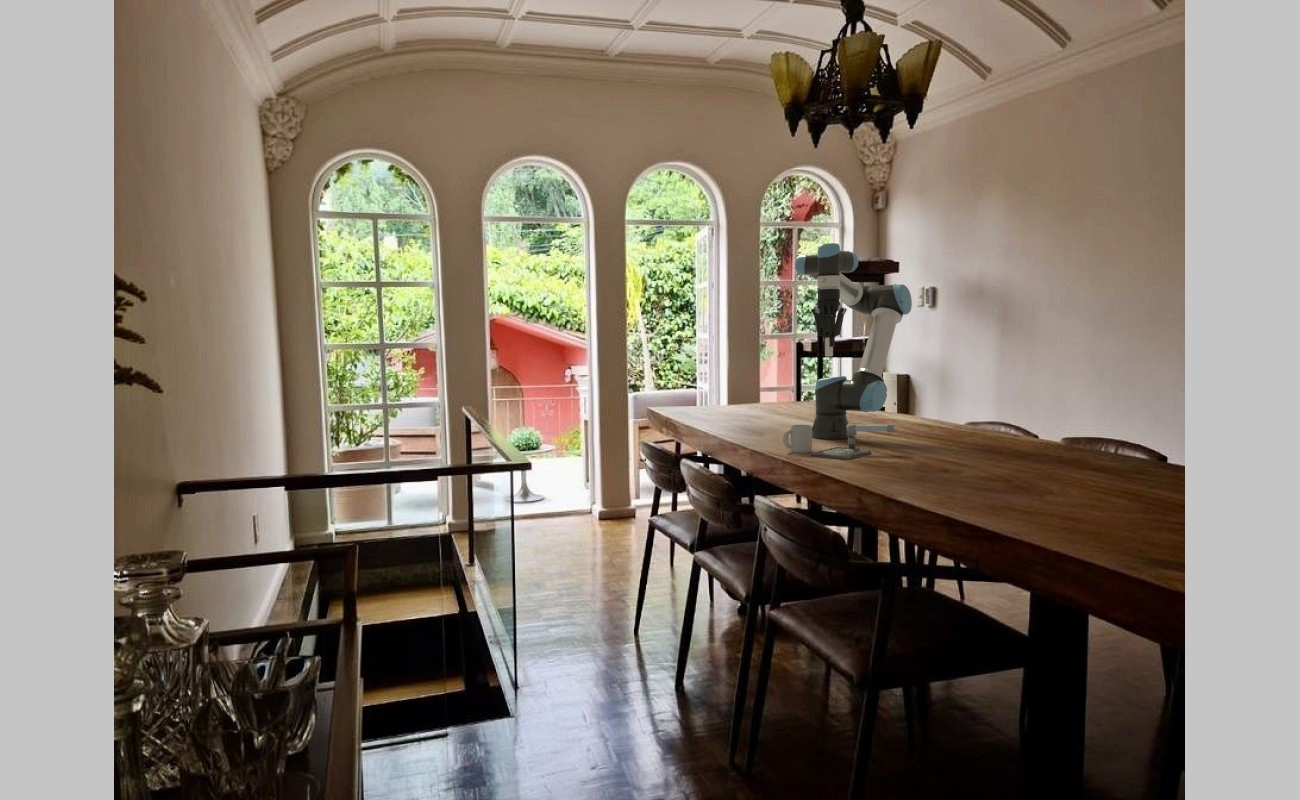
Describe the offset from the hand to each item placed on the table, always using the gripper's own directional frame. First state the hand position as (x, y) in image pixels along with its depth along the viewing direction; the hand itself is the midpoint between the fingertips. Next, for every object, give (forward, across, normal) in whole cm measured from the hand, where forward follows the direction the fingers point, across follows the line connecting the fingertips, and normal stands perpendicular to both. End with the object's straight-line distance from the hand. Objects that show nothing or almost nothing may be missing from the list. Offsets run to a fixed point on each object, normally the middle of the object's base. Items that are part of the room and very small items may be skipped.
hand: (829, 356), depth 283 cm
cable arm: (+27, +17, -1) cm, 31 cm away
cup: (+33, -4, -14) cm, 36 cm away
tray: (+32, +12, -11) cm, 36 cm away
